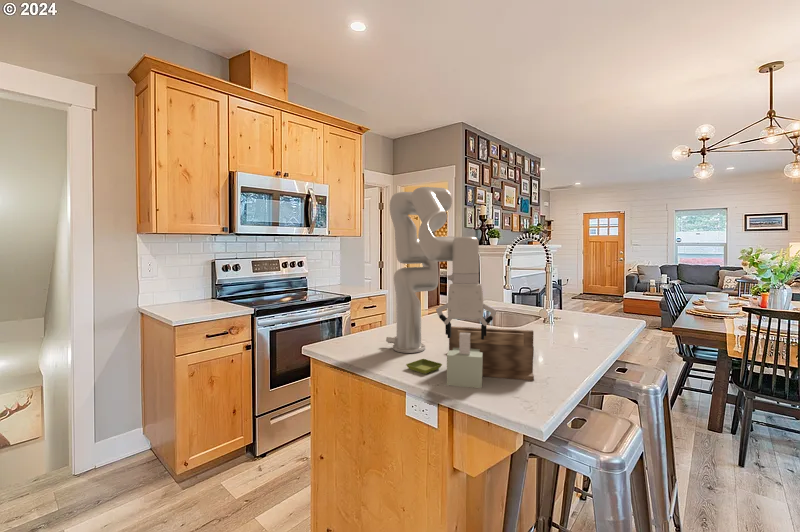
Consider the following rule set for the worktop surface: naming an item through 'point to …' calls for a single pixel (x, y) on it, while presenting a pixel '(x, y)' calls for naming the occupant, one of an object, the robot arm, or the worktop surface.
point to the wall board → (500, 351)
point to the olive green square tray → (424, 366)
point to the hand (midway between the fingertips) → (465, 337)
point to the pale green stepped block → (464, 364)
